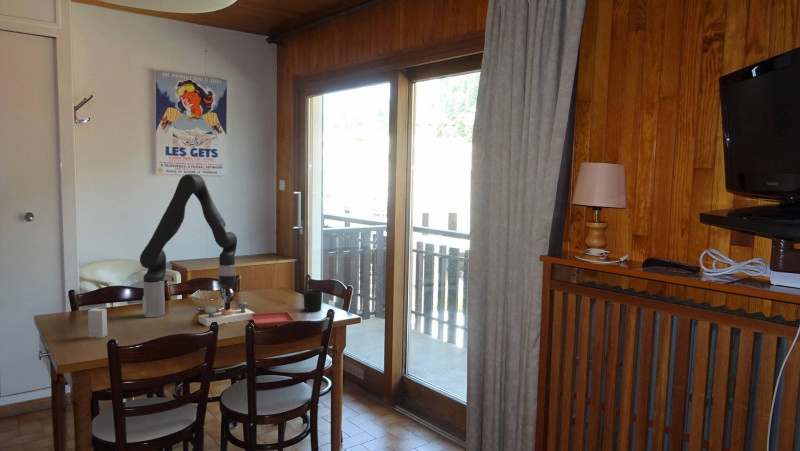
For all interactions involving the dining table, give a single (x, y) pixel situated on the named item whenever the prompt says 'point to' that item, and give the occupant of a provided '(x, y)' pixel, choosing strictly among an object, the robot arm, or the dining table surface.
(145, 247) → the robot arm
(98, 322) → the skincare box
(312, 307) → the pen holder
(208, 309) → the sage button
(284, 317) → the plant saucer
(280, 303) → the dining table surface
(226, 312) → the terracotta button
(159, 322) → the dining table surface
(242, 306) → the charcoal button
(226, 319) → the button board
